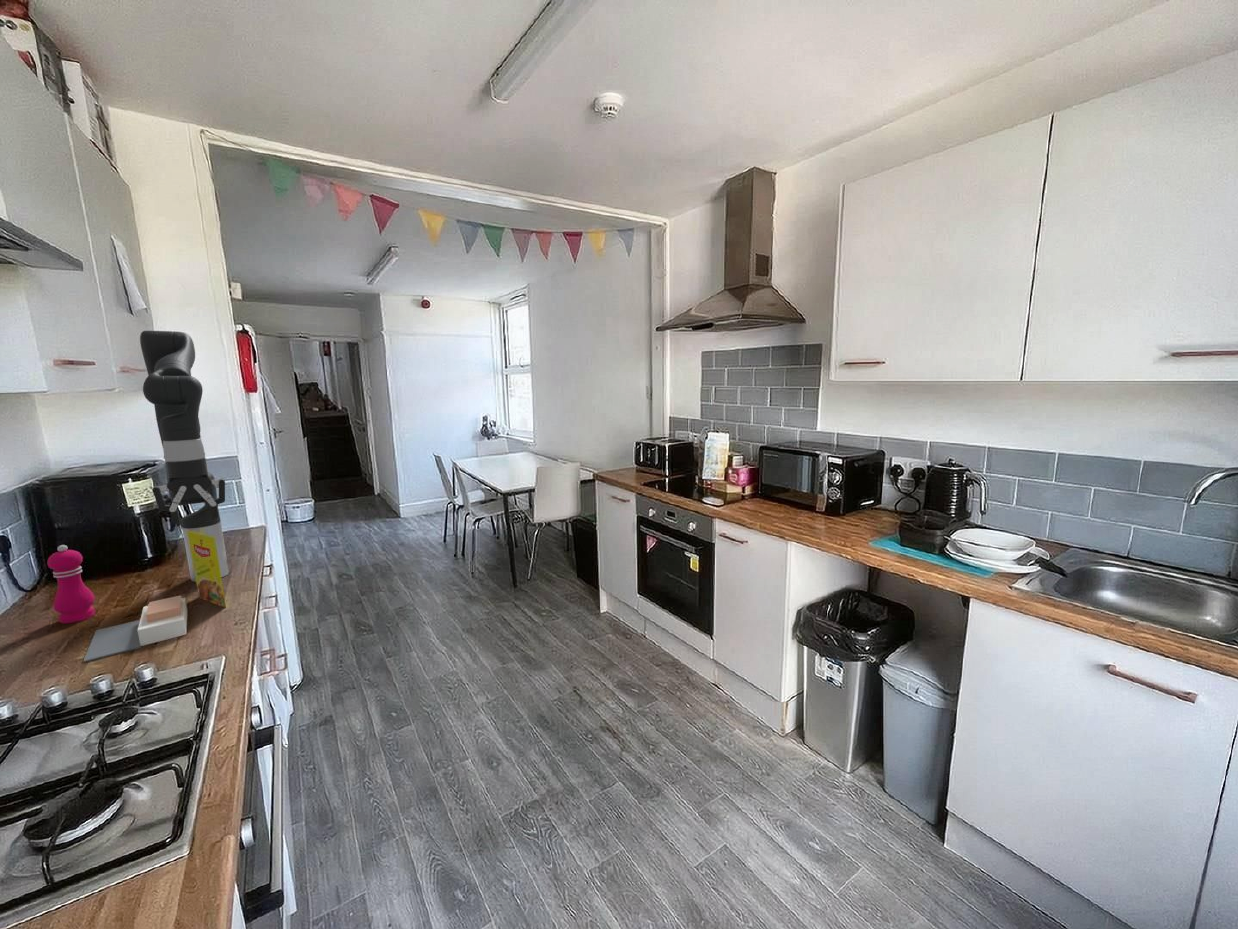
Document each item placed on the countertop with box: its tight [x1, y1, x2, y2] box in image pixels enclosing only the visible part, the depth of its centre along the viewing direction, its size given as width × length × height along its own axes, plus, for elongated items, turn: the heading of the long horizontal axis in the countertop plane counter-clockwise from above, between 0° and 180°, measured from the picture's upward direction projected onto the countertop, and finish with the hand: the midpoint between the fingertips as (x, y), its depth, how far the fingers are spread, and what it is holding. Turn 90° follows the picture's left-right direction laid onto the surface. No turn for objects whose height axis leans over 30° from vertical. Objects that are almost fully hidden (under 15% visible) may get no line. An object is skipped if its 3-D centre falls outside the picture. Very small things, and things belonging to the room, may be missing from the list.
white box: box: [138, 597, 188, 647], centre depth 121 cm, size 16×8×4 cm, turn 40°
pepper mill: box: [46, 544, 96, 624], centre depth 126 cm, size 7×7×20 cm
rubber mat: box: [82, 619, 142, 664], centre depth 116 cm, size 18×9×1 cm, turn 40°
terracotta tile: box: [146, 594, 183, 622], centre depth 121 cm, size 9×6×2 cm, turn 40°
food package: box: [187, 530, 227, 608], centre depth 134 cm, size 15×1×20 cm, turn 62°
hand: (196, 522), depth 123 cm, fingers open, 6 cm apart
